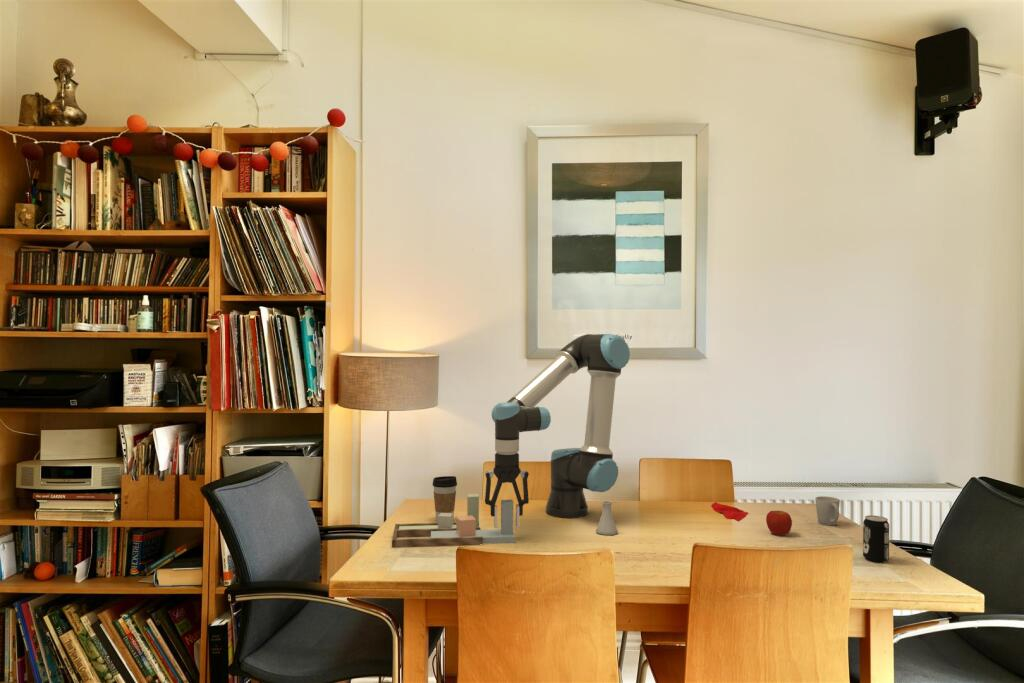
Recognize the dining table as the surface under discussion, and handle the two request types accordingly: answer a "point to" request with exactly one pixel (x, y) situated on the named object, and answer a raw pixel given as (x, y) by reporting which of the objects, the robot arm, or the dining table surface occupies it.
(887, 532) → the beverage can
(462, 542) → the lane frame
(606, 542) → the dining table surface
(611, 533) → the flask
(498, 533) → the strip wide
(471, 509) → the grey l-shaped bracket
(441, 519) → the grey cube
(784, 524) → the apple
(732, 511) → the cloth
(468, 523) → the terracotta cube
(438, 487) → the coffee cup
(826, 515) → the cup
